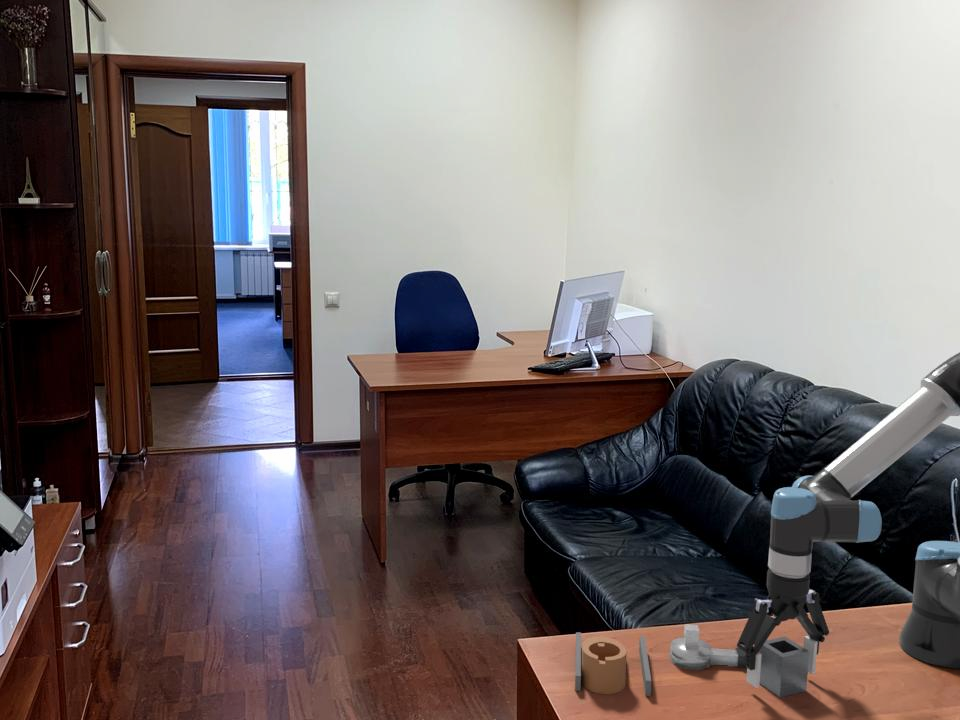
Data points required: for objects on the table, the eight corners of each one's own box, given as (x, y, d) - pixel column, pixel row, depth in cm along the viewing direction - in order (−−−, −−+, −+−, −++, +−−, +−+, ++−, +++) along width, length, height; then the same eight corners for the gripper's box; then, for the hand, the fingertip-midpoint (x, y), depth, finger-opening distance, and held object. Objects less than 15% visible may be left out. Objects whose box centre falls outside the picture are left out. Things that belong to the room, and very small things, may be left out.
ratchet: (772, 656, 179) (775, 624, 178) (781, 676, 171) (783, 642, 170) (668, 649, 181) (669, 617, 180) (672, 668, 173) (673, 635, 172)
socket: (782, 675, 171) (784, 636, 170) (806, 690, 166) (809, 651, 164) (756, 681, 169) (758, 642, 168) (779, 697, 163) (782, 657, 162)
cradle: (643, 650, 181) (644, 636, 180) (650, 695, 163) (651, 680, 163) (575, 645, 182) (576, 632, 182) (575, 690, 165) (575, 675, 164)
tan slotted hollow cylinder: (626, 696, 163) (627, 661, 162) (581, 693, 164) (582, 658, 163) (622, 650, 181) (623, 618, 180) (581, 648, 182) (582, 616, 181)
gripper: (824, 555, 172) (816, 656, 175) (721, 572, 162) (715, 680, 165) (854, 568, 165) (845, 674, 168) (749, 588, 155) (741, 700, 159)
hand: (781, 677), depth 167 cm, fingers open, 13 cm apart
